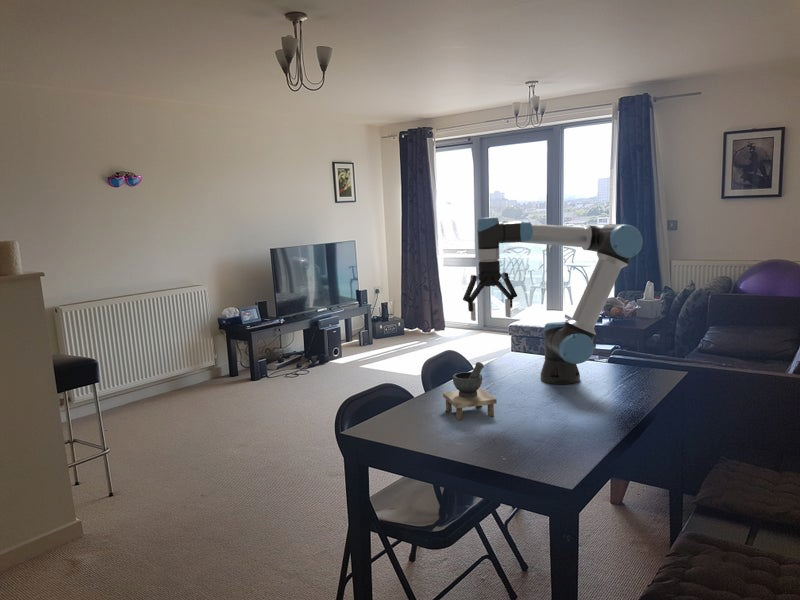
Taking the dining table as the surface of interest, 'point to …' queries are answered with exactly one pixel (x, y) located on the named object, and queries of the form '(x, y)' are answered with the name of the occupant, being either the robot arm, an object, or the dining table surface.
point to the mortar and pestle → (469, 381)
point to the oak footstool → (469, 402)
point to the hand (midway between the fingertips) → (490, 318)
